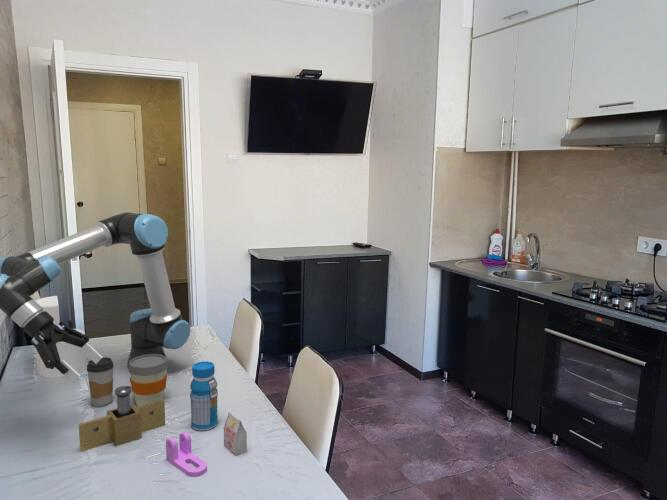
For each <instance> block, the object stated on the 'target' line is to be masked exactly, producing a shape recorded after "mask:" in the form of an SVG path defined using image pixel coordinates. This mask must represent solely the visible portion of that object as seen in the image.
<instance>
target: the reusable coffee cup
mask: <svg viewBox="0 0 667 500" xmlns="http://www.w3.org/2000/svg"><path fill="white" fill-rule="evenodd" d="M166 357H167V356H166ZM166 357H165V356H163V355H158V354H148V355H142V356H138V357H135V358H133V359H132V360H130V362H129V369H128V373H129V374H130V375H129V376H130V377H129V382H130V387H131V393H133V396H134V401H135V405H136V407H140V406H143V405H147V404H150V403H154V402H157V401H161V400H164V397H165V389H166V387H167V380H168V379H167V378H168V373H167V369H168V361H167V359H168V358H167V359H166Z"/></svg>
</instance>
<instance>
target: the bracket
mask: <svg viewBox="0 0 667 500" xmlns="http://www.w3.org/2000/svg"><path fill="white" fill-rule="evenodd" d="M190 435H191V434H190V433H189V432H188V431H184V432H181V433H179V435H178V436H179V437H178V438H179V440H178V441H179V442H178V441H177V439H176V438H175V437H174V436H173V437H172V436H171V437H170V438H168V439H166V441H165V450H166V451H165V453H166V454H165V455H166V456H165V457H166V458H165V459H166V461H167V462H168V463H170V464H171V465H173V466H175V467H176V468H177V469H178V470H179V471H181V472H182V473H184V474H185V475H187V477H193V478H195V477H201V476H203V475H205V474H206V473H207V471H208V464H207V462H206V461H204V460H203V459H202V458H200V457H198V456H197V455H195V454H194V453H193V451H192V438H191V436H190ZM178 443H179V444H178ZM190 464H191V465H193V466H194V467H193V466H191V465H190Z"/></svg>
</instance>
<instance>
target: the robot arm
mask: <svg viewBox="0 0 667 500" xmlns="http://www.w3.org/2000/svg"><path fill="white" fill-rule="evenodd" d="M168 237H169V230H168V226H167V224H166V222H165V221H164V220H163V219H162V218H161V217H159V216H157V215H154V214H150V213H136V212H122V213H117V214H115V215H112V216H109V217H107V218H105V219H102V220H99V221H96V222H95V223H94V224H93V226H91V227H89V228H87V229H83V230H81V231H79V232H76V233H74V234H71V235H68V236H66V237H64V238H61V239H60V238H59V239H58V240H56V241H53V242H50V243H48V244H45V245H43V246H40V247H38V248H35V249H33V250H31V251H28V252H24V253H22V254H19V255H16V256H13V255H8V256H4V257H2V258H0V311H1V312H3V313H4V314H6V316H8V317H9V318H10V319H11V320H12V321H13V322H14V323H16V324H17V325H18V326H19V327H20V328H23V331H24V332H25V333H26V334H27V335H28V336H29V337H31V338H32V339H31V340H30V344H31V345H32V346H33V348H35V351H36V350H37V352H38V353H39V355H40V357H41V359H42V361H43V363H44V365H45V366H46V368H50V369H53V368H54V367H55V368H56V369H58V370H59V371H60V372H61V373H62V374H64V375H65V376H64V377H66V378H67V379H69V381H71V382H72V383H75V382H76V381H77V380H78V379H79V378H80V377H81V374H80V372H77V371H75V370H74V369H73V368H72V367H71V366H70V365H69V364H68V363H67V362H65V361H64V360H62V361H61V360H60V357H59V353H58V350H57V346H56V343H58V342H66V343H69V344H72V345H75V346H78V347H81V349H80V350H81V351H82V352H83V353H85V354H86V357H88V358H89V359H90V360H92V361H93V362H94V363H95V364H97V363H98V362H99V361H100V360H101V359H102V358H103V357H104V356H102V355H101V354H100V353H99V352H98V351H97V350H96V349H95V348H94V347H93V346H92V345H90V344H89V341H90V337H89V336H88V335H86V334H85V335H84V334H82V333H80V332H78V331H76V330H74V329H75V328H72V327H71V326H69V325H67V324H66V323H65V322H63V321H61V320H60V323H59V324H58V325H55V324H54V323H53V321H54V318H53V317H52V316H51V315H50V314H49V313H48V312H46V311H43V308H42V307H41V306H40V305H39V304H38V303H37V302H35V300H34V299H33V298H32V297H31V296H33V295H34V294H35V293H37V292H38V291H40V290H41V289H43V288H44V287H45V286H47V285H49V284H50V283H51V282H54V280H55V279H57V278H58V277H59V276H60V275H61V272H62V269H61V267H60V265H61V264H63V263H65V262H68V261H70V260H73V259H74V258H77V257H80V256H83V255H84V254H86V253H89V252H92V251H95V250H97V249H99V248H101V247H106V248H108V247H111V246H113V245H117V244H122V245H123V244H125V245H126V244H127V245H129V246H130V250H131V254H132V255H133V256H134V257H137V260H138V262H139V267H140V272H141V276H142V279H143V282H144V286H145V290H146V294H147V298H148V302H149V306H150V307H149V308H144V309H139V310H136V311H133V312H131V313H130V315H129V326H130V327H129V328H130V345H131V346H130V347H131V348H130V351H129V353H128V354H129V355H128V358H127V361H126V362H127V369H128V370H129V362H130V360H132V359H133V358H135V357H138V356H142V355H148V354H158V355H163V356H165V357H166V359H168V358H167V355H166V352H165V350H164V348H165V349H167V350H169V349H170V350H177V349H180V348H182V347H183V346H185V344H186V343H187V342H188V339H190V335H191V325H190V324H189V322H188V321H186V320H185V319H183V318H182V313H181V310H180V309H178V308H176V306H175V301H174V298H173V292H172V288H171V285H170V280H169V275H168V272H167V267H166V263H165V260H164V254H163V251H164V249H166V246H165V245H166V243H167V241H168V240H167V238H168ZM62 334H63V335H62ZM48 361H50V362H48ZM60 361H61V362H60Z"/></svg>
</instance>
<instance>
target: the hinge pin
mask: <svg viewBox="0 0 667 500" xmlns="http://www.w3.org/2000/svg"><path fill="white" fill-rule="evenodd" d="M131 393H132V388H131V385H130V386H129V385H122V386H118V387H116V388H115V389H114V395H115V396H116V406H117V407H116V408H117V411H118V418H120V417H123V416H127V415H130V414H131V409H130V404H131Z"/></svg>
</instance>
